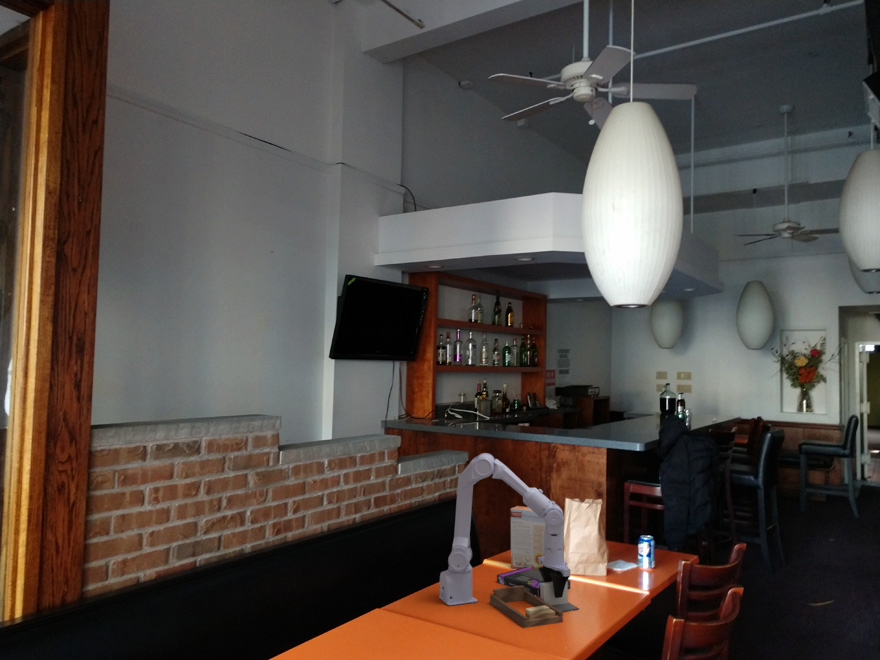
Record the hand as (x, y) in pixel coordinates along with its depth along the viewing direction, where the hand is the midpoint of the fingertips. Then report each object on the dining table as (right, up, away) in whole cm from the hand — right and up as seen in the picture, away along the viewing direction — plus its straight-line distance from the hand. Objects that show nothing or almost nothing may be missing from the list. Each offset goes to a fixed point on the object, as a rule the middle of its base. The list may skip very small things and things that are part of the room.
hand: (554, 594), depth 197 cm
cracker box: (-1, -6, +36) cm, 36 cm away
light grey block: (0, -3, 0) cm, 3 cm away
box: (-4, -5, +18) cm, 19 cm away
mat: (0, -3, 0) cm, 3 cm away
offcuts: (-6, -2, -14) cm, 15 cm away
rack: (-10, -3, -6) cm, 11 cm away
